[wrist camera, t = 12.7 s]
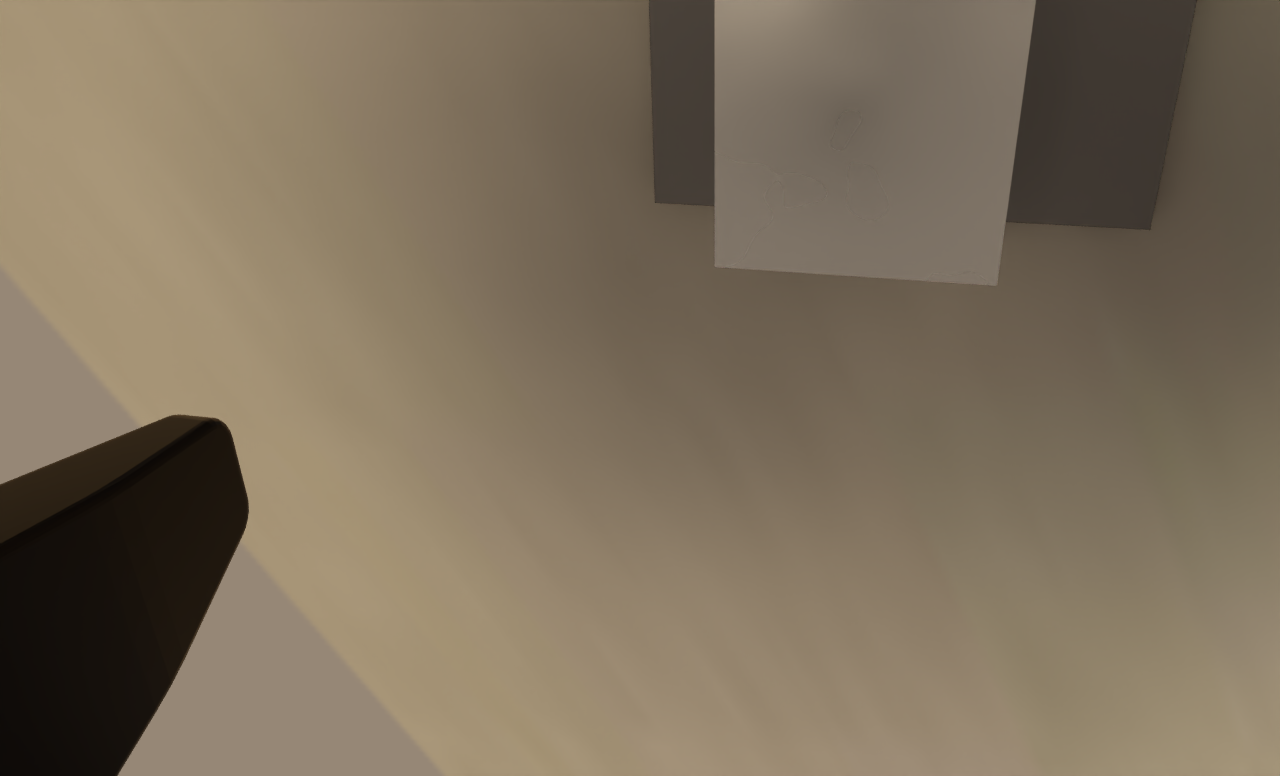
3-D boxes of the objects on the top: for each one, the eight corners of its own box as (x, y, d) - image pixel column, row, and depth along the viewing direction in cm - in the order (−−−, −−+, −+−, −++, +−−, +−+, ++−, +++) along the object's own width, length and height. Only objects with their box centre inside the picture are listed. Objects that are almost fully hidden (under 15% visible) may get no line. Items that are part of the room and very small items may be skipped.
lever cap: (1026, -72, 17) (1039, -25, 14) (991, 204, 19) (997, 285, 17) (748, -74, 18) (713, -30, 15) (744, 191, 20) (714, 267, 17)
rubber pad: (1229, -195, 16) (1235, -192, 16) (1147, 219, 19) (1150, 229, 19) (649, -187, 18) (643, -183, 17) (659, 194, 21) (655, 202, 20)
